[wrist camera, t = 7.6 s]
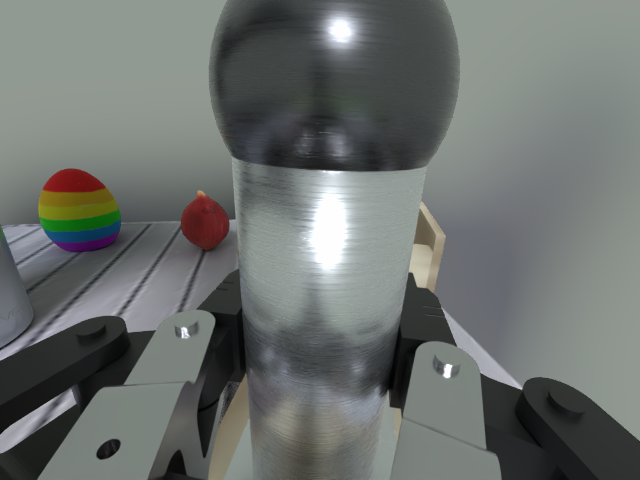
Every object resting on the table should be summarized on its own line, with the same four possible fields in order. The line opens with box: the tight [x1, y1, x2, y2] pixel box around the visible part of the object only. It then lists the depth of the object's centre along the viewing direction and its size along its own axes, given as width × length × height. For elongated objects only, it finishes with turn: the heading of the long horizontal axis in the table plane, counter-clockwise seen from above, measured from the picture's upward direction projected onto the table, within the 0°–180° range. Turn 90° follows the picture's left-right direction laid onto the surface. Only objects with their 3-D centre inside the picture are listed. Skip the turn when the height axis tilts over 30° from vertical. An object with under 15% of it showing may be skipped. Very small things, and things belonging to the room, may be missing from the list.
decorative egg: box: [38, 169, 121, 252], centre depth 38 cm, size 8×8×10 cm
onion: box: [181, 191, 229, 251], centre depth 38 cm, size 6×6×8 cm
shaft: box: [209, 0, 460, 480], centre depth 12 cm, size 6×13×16 cm, turn 171°
